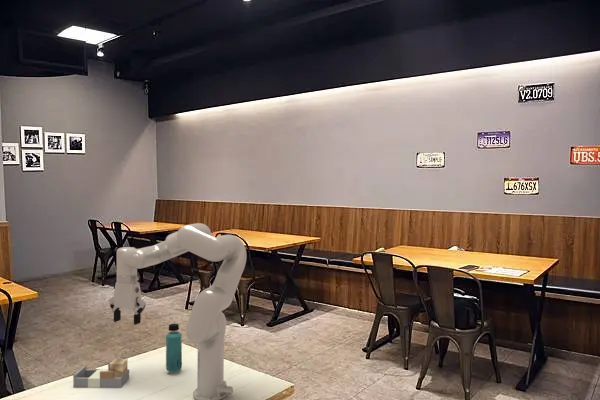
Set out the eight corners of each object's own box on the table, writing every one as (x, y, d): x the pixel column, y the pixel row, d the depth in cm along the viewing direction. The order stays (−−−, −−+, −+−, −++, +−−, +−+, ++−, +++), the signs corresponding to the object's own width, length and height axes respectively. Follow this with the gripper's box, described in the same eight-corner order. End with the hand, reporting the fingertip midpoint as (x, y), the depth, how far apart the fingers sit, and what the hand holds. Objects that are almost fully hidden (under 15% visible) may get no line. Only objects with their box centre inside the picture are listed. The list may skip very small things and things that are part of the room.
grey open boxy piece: (129, 378, 186) (129, 363, 185) (120, 387, 177) (120, 372, 176) (84, 377, 185) (84, 363, 185) (73, 387, 176) (73, 372, 176)
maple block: (127, 371, 183) (127, 358, 183) (122, 376, 178) (122, 363, 178) (114, 371, 183) (114, 358, 183) (109, 376, 178) (109, 363, 178)
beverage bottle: (177, 376, 188) (177, 327, 187) (162, 374, 189) (162, 326, 189) (184, 369, 194) (184, 322, 194) (170, 368, 196) (170, 321, 195)
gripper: (151, 278, 182) (151, 322, 182) (116, 275, 188) (116, 317, 188) (138, 282, 175) (138, 327, 175) (102, 279, 181) (102, 322, 181)
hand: (127, 322), depth 182 cm, fingers open, 9 cm apart
